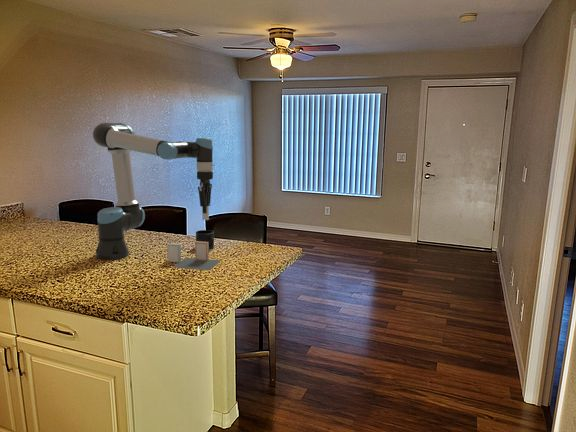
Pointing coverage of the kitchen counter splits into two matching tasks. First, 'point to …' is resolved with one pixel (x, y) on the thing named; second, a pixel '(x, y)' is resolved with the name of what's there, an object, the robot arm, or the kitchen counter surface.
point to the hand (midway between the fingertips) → (205, 219)
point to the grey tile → (174, 252)
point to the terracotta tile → (201, 251)
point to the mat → (197, 264)
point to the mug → (206, 237)
